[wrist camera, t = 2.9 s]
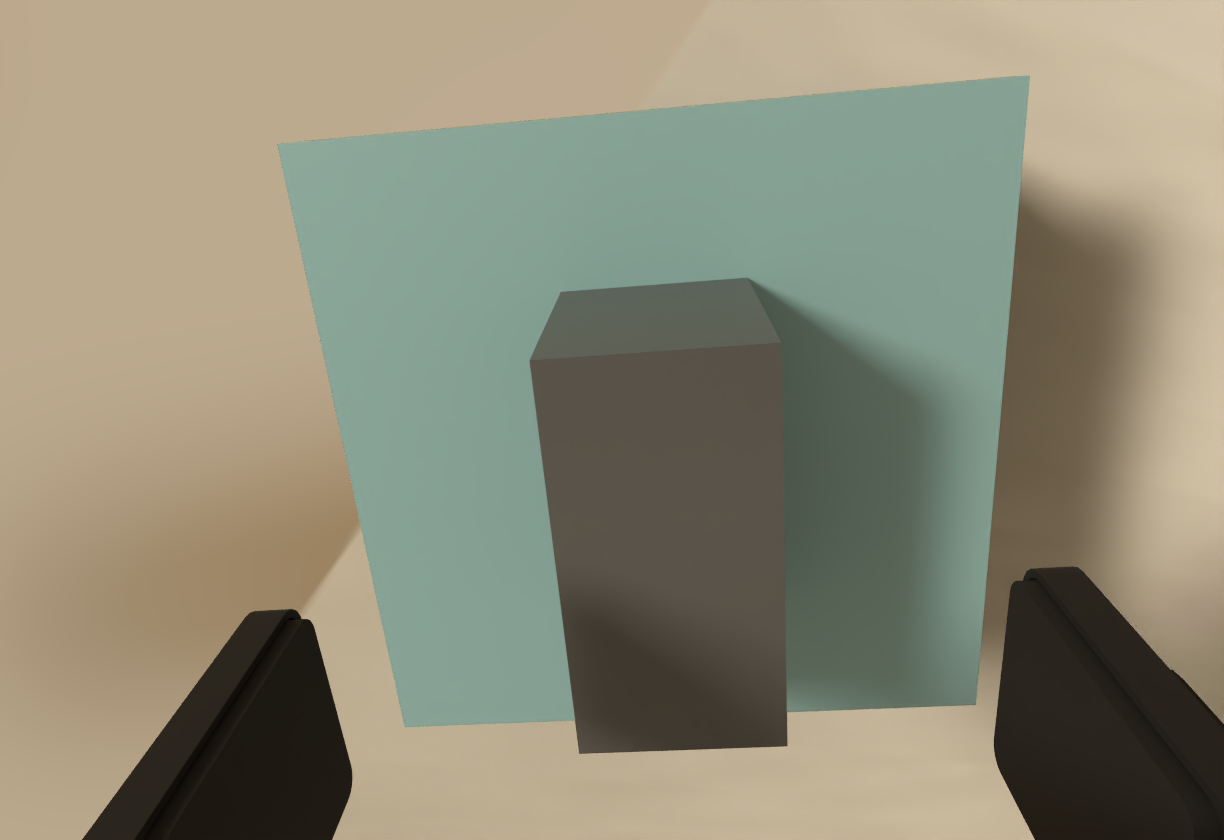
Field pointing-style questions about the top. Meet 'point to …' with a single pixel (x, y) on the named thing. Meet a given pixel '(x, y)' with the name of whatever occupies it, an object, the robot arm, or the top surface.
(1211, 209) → the top surface
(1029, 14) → the top surface
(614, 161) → the lid
